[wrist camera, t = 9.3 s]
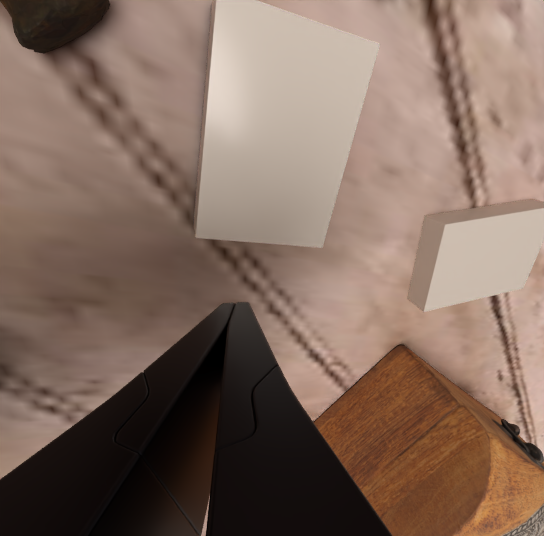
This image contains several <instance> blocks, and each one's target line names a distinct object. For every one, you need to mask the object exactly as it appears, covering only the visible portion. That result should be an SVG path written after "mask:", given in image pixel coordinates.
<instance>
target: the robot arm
mask: <svg viewBox="0 0 544 536" xmlns="http://www.w3.org/2000/svg"><path fill="white" fill-rule="evenodd" d="M209 496H210V500H209ZM208 501H209V510H208V520H207V530H206V536H393V535H392V534H391V532H390V531H389V530H388V528H387V527H386V525H385V524H384V523H383V521H382V520H381V518H380V517H379V515H378V514H377V513H376V511H375V510H374V508H373V507H372V505H371V504H370V503H369V501H368V500H367V498H366V497H365V495H364V494H363V493H362V491H361V490H360V488H359V487H358V485H357V484H356V483H355V481H354V480H353V478H352V477H351V475H350V474H349V473H348V471H347V470H346V468H345V467H344V465H343V464H342V463H341V461H340V460H339V458H338V457H337V455H336V454H335V453H334V451H333V450H332V448H331V447H330V445H329V444H328V443H327V441H326V440H325V438H324V437H323V435H322V434H321V433H320V431H319V430H318V428H317V427H316V425H315V424H314V423H313V421H312V420H311V418H310V417H309V415H308V414H307V413H306V411H305V410H304V408H303V407H302V405H301V404H300V402H299V401H298V399H297V398H296V396H295V394H294V393H293V391H292V390H291V388H290V386H289V384H288V382H287V380H286V379H285V377H284V375H283V373H282V370H281V368H280V367H279V365H278V363H277V361H276V359H275V357H274V354H273V352H272V350H271V348H270V346H269V344H268V342H267V340H266V338H265V336H264V333H263V331H262V329H261V327H260V325H259V323H258V321H257V319H256V317H255V315H254V312H253V310H252V308H251V306H250V304H249V303H248V302H238V303H236V304H235V303H223V304H221V305H220V306H219V307H218V308H217V309H215V310H214V311H213V312H212V313H211V314H210V315H208V316H207V317H206V318H205V319H204V320H203V321H201V322H200V323H199V324H198V325H197V326H195V327H194V328H193V329H192V330H191V331H190V332H188V333H187V334H186V335H185V336H184V337H183V338H181V339H180V340H179V341H178V342H177V343H176V344H174V345H173V346H172V347H171V348H170V349H169V350H167V351H166V352H165V353H164V354H163V355H162V356H160V357H159V358H158V359H157V360H156V361H155V362H153V363H152V364H151V365H150V366H149V367H148V368H146V369H145V370H144V373H143V372H141V373H140V374H139V375H138V376H136V377H135V378H134V379H133V380H132V381H130V382H129V383H128V384H127V385H126V386H124V387H123V388H122V389H121V390H119V391H118V392H117V393H116V394H115V395H113V396H112V397H111V398H110V399H108V400H107V401H106V402H104V403H103V404H102V405H100V406H99V407H98V408H96V409H95V410H94V411H92V412H91V413H90V414H88V415H87V416H86V417H84V418H83V419H82V420H80V421H79V422H78V423H76V424H75V425H74V426H72V427H71V428H69V429H68V430H67V431H65V432H64V433H63V434H61V435H60V436H59V437H57V438H56V439H55V440H53V441H52V442H50V443H49V444H48V445H46V446H45V447H44V448H42V449H41V450H40V451H38V452H37V453H36V454H34V455H33V456H31V457H30V458H29V459H27V460H26V461H25V462H23V463H22V464H21V465H19V466H18V467H17V468H15V469H14V470H12V471H11V472H10V473H8V474H7V475H6V476H4V477H3V478H2V479H0V536H201V533H202V529H203V524H204V519H205V515H206V510H207V505H208Z"/></svg>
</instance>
